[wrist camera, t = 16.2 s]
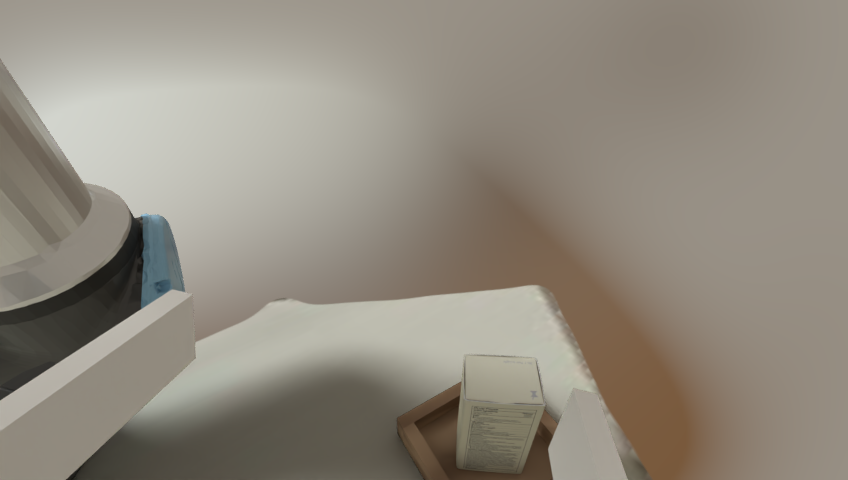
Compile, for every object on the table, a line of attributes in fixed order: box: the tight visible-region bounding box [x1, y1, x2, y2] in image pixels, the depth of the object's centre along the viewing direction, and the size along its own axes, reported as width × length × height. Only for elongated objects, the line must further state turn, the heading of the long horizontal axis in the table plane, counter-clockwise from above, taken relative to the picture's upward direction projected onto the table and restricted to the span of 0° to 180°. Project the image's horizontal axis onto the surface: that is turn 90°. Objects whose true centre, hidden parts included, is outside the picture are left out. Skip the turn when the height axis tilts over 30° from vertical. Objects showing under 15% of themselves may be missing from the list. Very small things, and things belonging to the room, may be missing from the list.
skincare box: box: [456, 354, 546, 474], centre depth 35 cm, size 6×4×12 cm
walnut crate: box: [397, 381, 558, 480], centre depth 38 cm, size 13×13×3 cm
